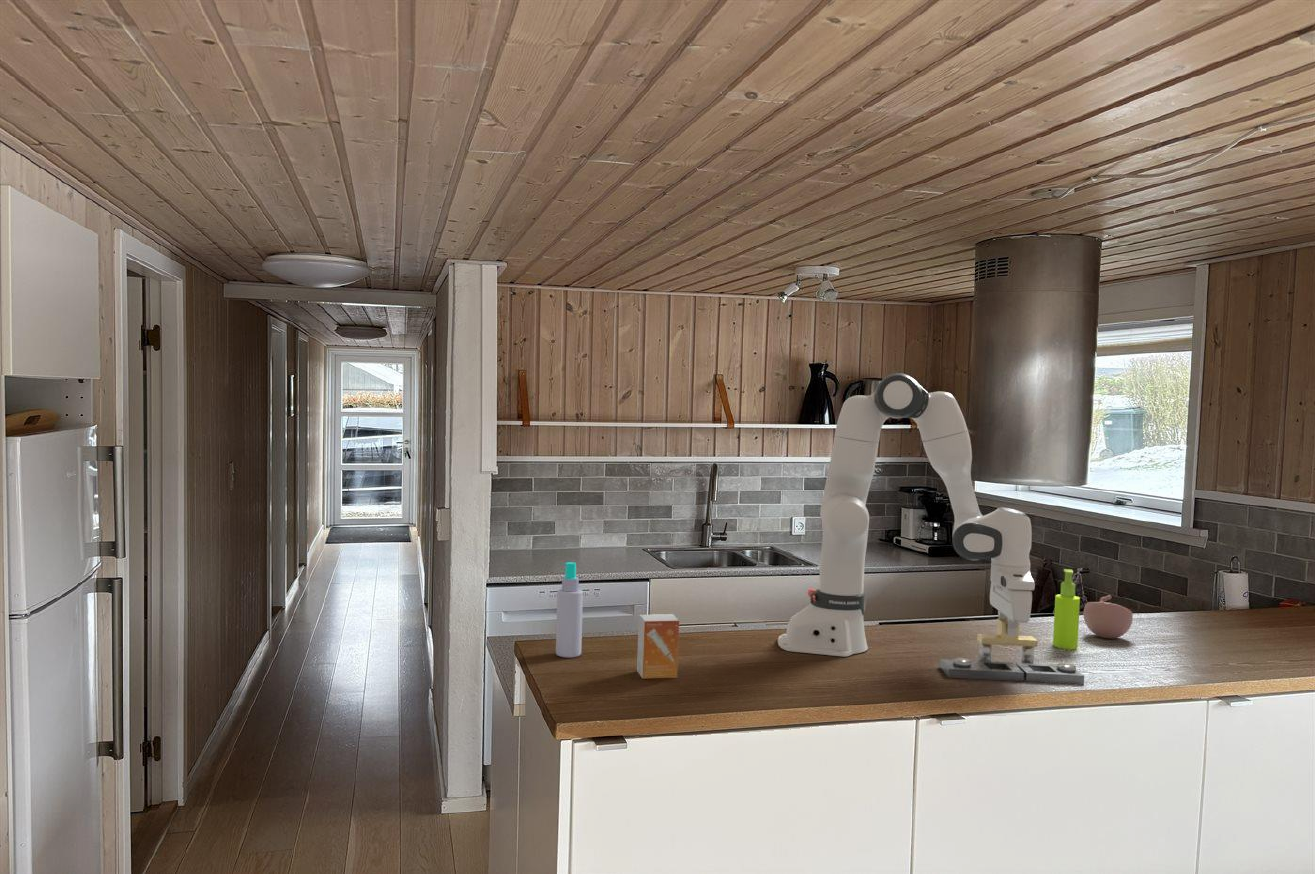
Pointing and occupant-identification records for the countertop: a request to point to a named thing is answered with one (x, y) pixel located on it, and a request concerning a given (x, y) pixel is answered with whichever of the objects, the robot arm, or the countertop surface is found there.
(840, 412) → the robot arm
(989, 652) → the tan bridge piece
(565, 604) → the spray bottle
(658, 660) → the small box
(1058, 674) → the right chain end
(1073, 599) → the soap dispenser
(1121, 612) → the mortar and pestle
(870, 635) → the countertop surface
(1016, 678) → the plate
